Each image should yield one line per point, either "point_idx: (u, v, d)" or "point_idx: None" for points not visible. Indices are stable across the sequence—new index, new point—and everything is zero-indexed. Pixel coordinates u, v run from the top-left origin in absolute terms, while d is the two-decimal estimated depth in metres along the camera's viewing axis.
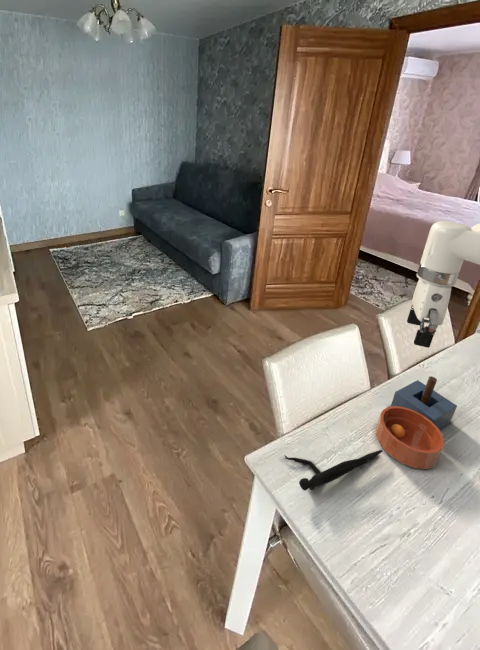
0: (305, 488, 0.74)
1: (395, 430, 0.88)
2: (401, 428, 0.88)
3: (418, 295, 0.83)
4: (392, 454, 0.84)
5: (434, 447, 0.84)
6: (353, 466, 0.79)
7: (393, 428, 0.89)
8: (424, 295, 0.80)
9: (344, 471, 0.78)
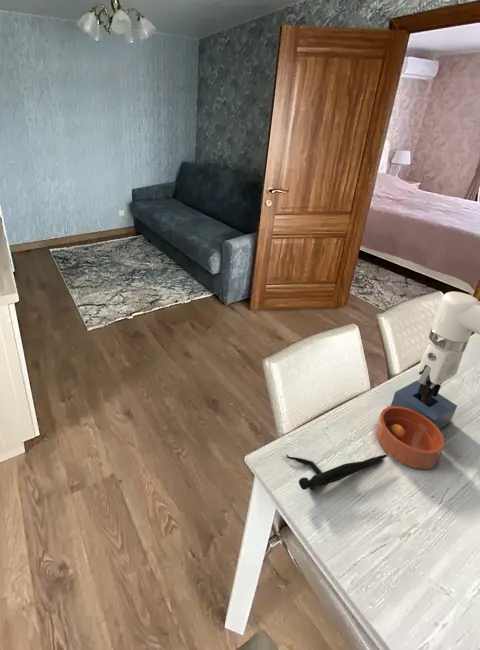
0: (304, 487, 0.74)
1: (395, 430, 0.88)
2: (401, 428, 0.88)
3: None
4: (392, 454, 0.84)
5: (434, 447, 0.84)
6: (355, 469, 0.79)
7: (393, 428, 0.89)
8: None
9: (345, 473, 0.78)
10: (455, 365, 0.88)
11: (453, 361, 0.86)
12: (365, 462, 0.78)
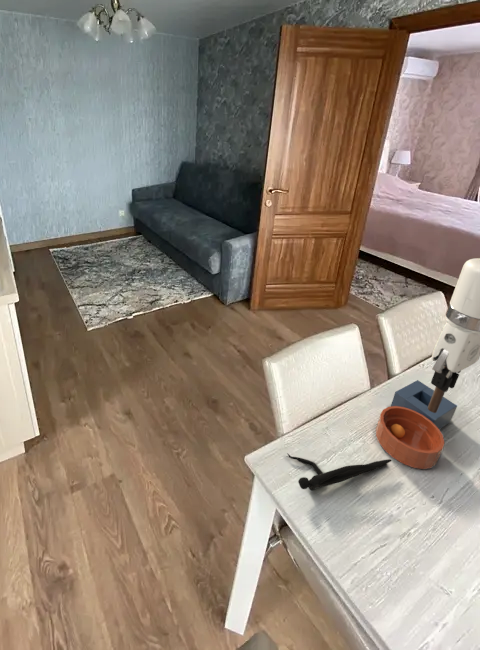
0: (304, 487, 0.74)
1: (395, 430, 0.88)
2: (401, 428, 0.88)
3: None
4: (392, 454, 0.84)
5: (434, 447, 0.84)
6: (357, 472, 0.78)
7: (393, 428, 0.89)
8: None
9: (347, 475, 0.77)
10: (478, 349, 0.72)
11: (476, 344, 0.70)
12: (367, 465, 0.78)
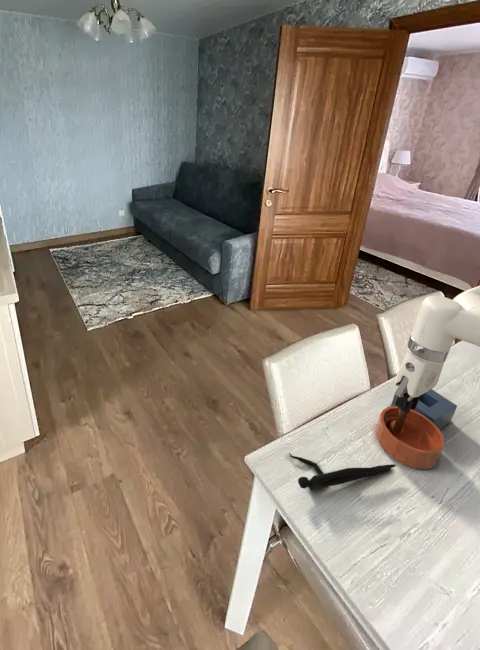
0: (303, 486, 0.75)
1: (394, 423, 0.90)
2: None
3: None
4: (392, 454, 0.84)
5: (434, 447, 0.84)
6: (359, 474, 0.77)
7: (392, 422, 0.90)
8: (402, 362, 0.81)
9: (348, 478, 0.77)
10: (435, 376, 0.80)
11: (433, 372, 0.78)
12: (370, 469, 0.77)
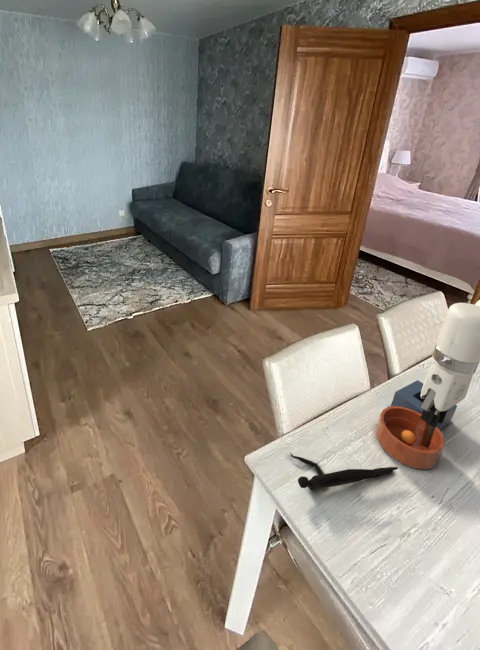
0: (303, 486, 0.75)
1: None
2: (414, 441, 0.86)
3: None
4: (392, 454, 0.84)
5: (434, 447, 0.84)
6: (360, 476, 0.77)
7: (406, 443, 0.87)
8: (428, 373, 0.76)
9: (349, 479, 0.77)
10: (464, 388, 0.75)
11: (462, 384, 0.73)
12: (371, 470, 0.76)
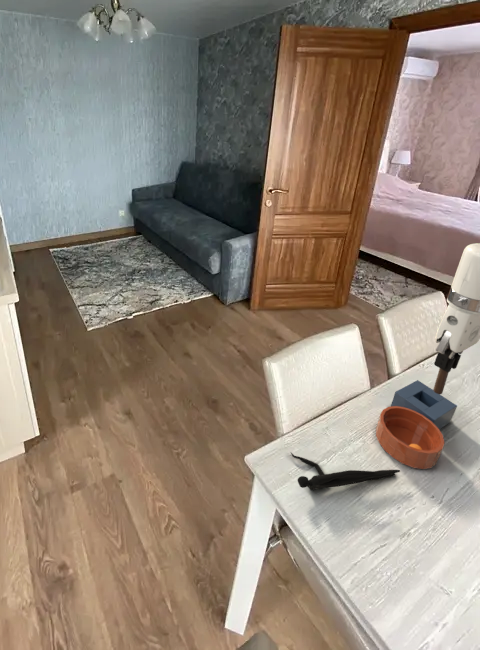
0: (302, 485, 0.75)
1: None
2: None
3: None
4: (392, 454, 0.84)
5: (434, 447, 0.84)
6: (361, 478, 0.77)
7: None
8: (443, 316, 0.77)
9: (349, 480, 0.76)
10: (478, 330, 0.76)
11: (477, 325, 0.74)
12: (372, 472, 0.76)
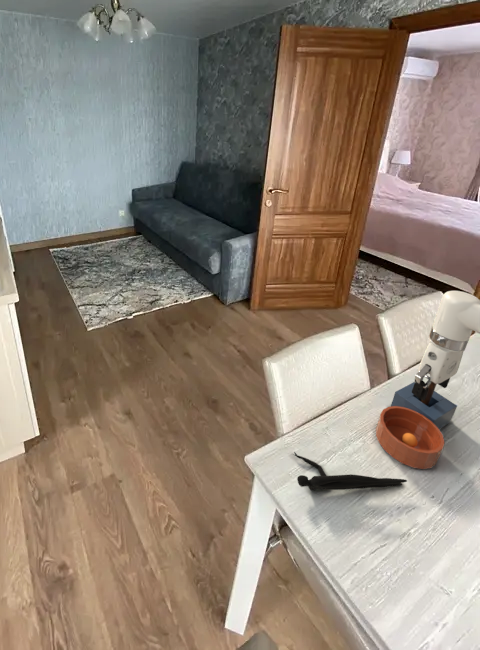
0: (301, 484, 0.75)
1: None
2: (415, 446, 0.86)
3: None
4: (392, 454, 0.84)
5: (434, 447, 0.84)
6: (363, 483, 0.76)
7: None
8: (425, 351, 0.89)
9: (351, 484, 0.76)
10: (456, 364, 0.88)
11: (454, 360, 0.86)
12: (375, 479, 0.75)
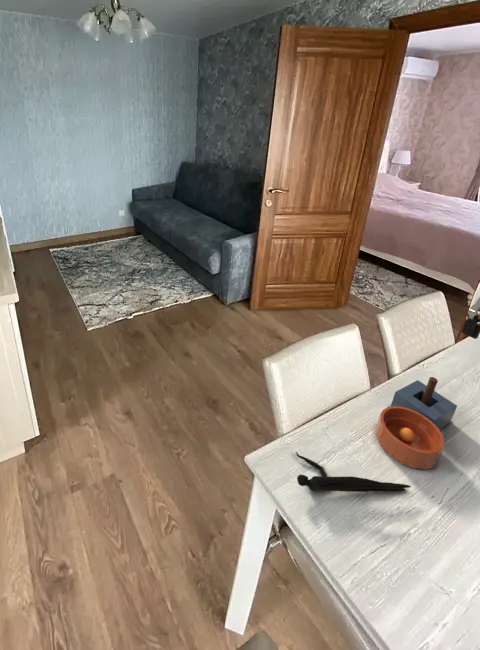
0: (301, 483, 0.75)
1: (408, 441, 0.87)
2: (413, 436, 0.87)
3: None
4: (392, 454, 0.84)
5: (434, 447, 0.84)
6: (365, 486, 0.75)
7: (406, 439, 0.87)
8: (478, 285, 0.82)
9: (352, 486, 0.75)
10: None
11: None
12: (377, 482, 0.74)
